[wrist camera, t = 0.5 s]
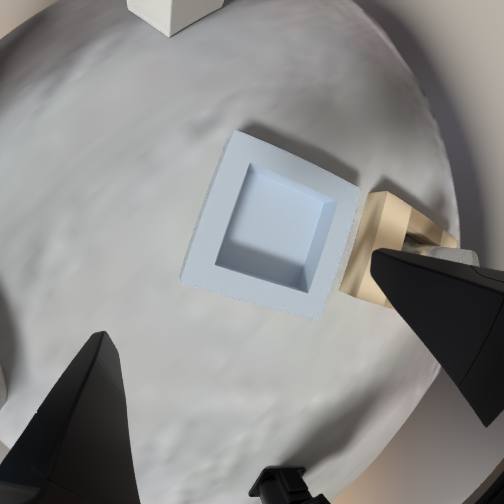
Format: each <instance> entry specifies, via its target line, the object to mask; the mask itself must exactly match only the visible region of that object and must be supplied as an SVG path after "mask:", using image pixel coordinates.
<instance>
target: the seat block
mask: <svg viewBox="0 0 504 504" xmlns="http://www.w3.org/2000/svg"><path fill="white" fill-rule="evenodd" d="M361 190H362V189H360V188H358V187H357V186H355V185H353V184H351V183H349V182H347V181H345V180H344V179H342V178H340V177H338V176H336V175H334V174H332V173H330V172H328V171H326V170H324V169H322V168H320V167H318V166H316V165H314V164H312V163H310V162H308V161H306V160H304V159H302V158H300V157H298V156H295V155H293V154H291V153H289V152H287V151H285V150H282V149H280V148H278V147H276V146H273V145H271V144H269V143H266V142H264V141H262V140H259V139H257V138H255V137H252V136H250V135H247V134H245V133H242V132H240V131H237V130H235V129H234V130H233V132H232V133H231V135H230V136H229V138H228V139H227V142H226V144H225V147H224V149H223V152H222V154H221V157H220V159H219V162H218V165H217V167H216V170H215V172H214V175H213V178H212V181H211V183H210V186H209V189H208V191H207V194H206V197H205V200H204V203H203V205H202V208H201V211H200V214H199V217H198V220H197V223H196V226H195V229H194V231H193V234H192V237H191V241H190V244H189V247H188V250H187V253H186V256H185V259H184V262H183V265H182V269H181V272H180V275H179V276H180V283H182V284H185V285H188V286H191V287H195V288H198V289H202V290H205V291H208V292H212V293H215V294H219V295H222V296H226V297H229V298H233V299H236V300H240V301H244V302H247V303H251V304H255V305H258V306H262V307H266V308H270V309H274V310H278V311H281V312H285V313H289V314H293V315H297V316H301V317H306V318H310V319H314V320H318V321H319V320H320V318H321V315H322V313H323V310H324V307H325V304H326V302H327V299H328V296H329V293H330V291H331V288H332V285H333V282H334V279H335V276H336V273H337V270H338V267H339V264H340V261H341V258H342V255H343V252H344V249H345V246H346V242H347V239H348V236H349V233H350V229H351V226H352V222H353V219H354V215H355V212H356V208H357V205H358V201H359V197H360V194H361Z"/></svg>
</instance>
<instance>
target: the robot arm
mask: <svg viewBox="0 0 504 504" xmlns="http://www.w3.org/2000/svg"><path fill="white" fill-rule="evenodd" d="M370 274H371V277H372V278H373V280H374V281H375V282H376V284H377V285H378V287H379V288H380V289H381V291H382V292H383V293H384V295H385V296H386V298H387V299H388V300H389V302H390V303H391V305H392V306H393V307H394V308H395V310H396V311H397V312H398V313H399V314H400V316H401V317H402V318H403V319H404V320H405V321H406V323H407V324H408V325H409V326H410V327H411V329H412V330H413V331H414V332H415V333H416V335H417V336H418V337H419V338H420V340H421V341H422V342H423V343H424V344H425V346H426V347H427V348H428V349H429V351H430V352H431V353H432V354H433V356H434V357H435V358H436V360H437V361H438V362H439V363H440V365H441V366H442V367H443V369H444V370H445V371H446V373H447V374H448V375H449V377H450V378H451V379H452V381H453V382H454V383H455V384H456V386H457V387H458V389H459V390H460V392H461V393H462V394H463V396H464V397H465V398H466V400H467V401H468V403H469V404H470V406H471V407H472V408H473V410H474V411H475V413H476V414H477V416H478V417H479V419H480V420H481V422H482V423H483V425H484V426H485V427H486V428H487V427H488V426H489V425H490V424H491V423H492V422H493V421H494V420H495V419H496V418H497V416H498V415H499V414H500V413H501V412H502V411H503V410H504V271H499V270H494V269H488V268H483V267H478V266H474V265H468V264H464V263H459V262H454V261H450V260H445V259H440V258H435V257H430V256H425V255H420V254H414V253H409V252H404V251H399V250H393V249H388V248H379V249H376V250H374V251H373V252H372V254H371V264H370ZM305 472H306V469H305V468H290V469H265V470H263V471H262V473H261V474H260V476H259V478H258V479H257V481H256V482H255V484H254V486H253V487H252V489H251V490H250V492H249V493H248V494H249V496H250V497H260V499H261V501H262V503H263V504H331V503H330V502H329V501H328V500H327V499H326V498H325V496H324V495H323V494H322V493H321V494H319V495H318V496H316V497H314V498H313V497H312V496H311V494H310V492H309V491H308V487H307V485H306V483H305V482H304V480H303V479H302V476H303V475H304V473H305ZM0 504H141V503H140V499H139V494H138V489H137V484H136V479H135V473H134V467H133V460H132V453H131V446H130V438H129V429H128V418H127V406H126V397H125V391H124V385H123V379H122V372H121V365H120V358H119V353H118V351H117V349H116V347H115V345H114V344H113V342H112V340H111V338H110V337H109V335H108V333H107V332H106V331H100V332H96V333H93V334H92V335H91V337H90V338H89V339H88V341H87V342H86V343H85V344H84V346H83V347H82V348H81V350H80V351H79V352H78V354H77V355H76V356H75V358H74V359H73V360H72V362H71V363H70V364H69V366H68V367H67V368H66V370H65V371H64V373H63V374H62V375H61V377H60V378H59V380H58V381H57V382H56V384H55V385H54V387H53V388H52V389H51V391H50V392H49V394H48V395H47V397H46V398H45V400H44V401H43V403H42V404H41V406H40V407H39V409H38V410H37V413H35V415H34V416H33V418H32V419H31V421H30V422H29V424H28V425H27V427H26V428H25V430H24V431H23V433H22V434H21V436H20V437H19V439H18V440H17V441H16V443H15V444H14V446H13V447H12V448H11V450H10V451H9V453H8V454H7V455H6V457H5V458H4V460H3V461H2V463H1V464H0ZM462 504H504V458H503V459H502V461H501V462H500V463H499V464H498V466H497V467H496V468H495V469H494V470H493V472H492V473H491V474H490V475H489V476H488V477H487V479H486V480H485V481H484V482H483V483H482V484H481V485H480V486H479V487H478V488H477V489H476V490H475V491H474V492H473V493H472V494H471V495H470V496H469V498H467V499H466V500H465V501H464V502H463V503H462Z"/></svg>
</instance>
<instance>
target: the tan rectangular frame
mask: <svg viewBox="0 0 504 504" xmlns="http://www.w3.org/2000/svg"><path fill="white" fill-rule="evenodd" d="M405 234H407V235H408V236H410V237H412V238H413V239H415V240H417V241H418V242H420V243H422V244H425V245H433V246H441V247H449V248H456V246H457V241H458V240H457V239H456V238H454V237H453V236H452V235H450V234H449V233H448V232H446V231H445V230H444V229H442V228H441V227H440V226H438V225H437V224H436V223H434V222H433V221H431V220H430V219H429V218H427V217H426V216H424V215H423V214H422V213H420V212H419V211H417V210H416V209H414V208H413V207H411V206H410V205H408V204H407V203H405V202H404V201H402V200H401V199H399V198H398V197H396V196H395V195H393V194H391V193H390V192H388V191H383V192H374V193H368V197H367V201H366V205H365V209H364V212H363V216H362V220H361V223H360V227H359V230H358V233H357V237H356V240H355V243H354V247H353V250H352V253H351V256H350V259H349V263H348V266H347V269H346V272H345V275H344V278H343V281H342V283H341V286H340V289H339V291H341V292H343V293H346V294H348V295H351V296H353V297H355V298H358V299H361V300H365V301H368V302H371V303H375V304H378V305H381V306H385V307H388V308H391V309H395V308H394V307H393V306H392V305H391V303H390V302H389V300H388V299H387V298H386V296H385V295H384V293H383V292H382V291H381V289H380V288H379V287H378V285H377V284H376V282H375V281H374V280H373V278H372V277H371V274H370V264H371V254H372V252H373V251H374V250H376V249H379V248H388V249H393V250H399V251H401V249H402V246H403V242H404V238H405Z"/></svg>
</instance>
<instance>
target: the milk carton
mask: <svg viewBox="0 0 504 504" xmlns="http://www.w3.org/2000/svg"><path fill="white" fill-rule="evenodd" d="M223 2H224V0H127V6H128V9H129V10H130V11H131V12H133V13H134V14H136V15H137V16H139V17H140V18H142V19H143V20H145V21H146V22H148V23H149V24H150V25H152V26H153V27H155V28H156V29H158V30H159V31H160V32H162V33H163V34H164V35H166V36H167V37H170V36H172V35H174V34H175V33H177V32H178V31H180V30H182V29H183V28H185V27H187V26H188V25H190V24H192V23H193V22H195V21H197V20H199V19H200V18H202V17H204V16H206V15H208V14H210V13H211V12H213V11H215V10H217V9H219V8H221V7H222V5H223Z"/></svg>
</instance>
